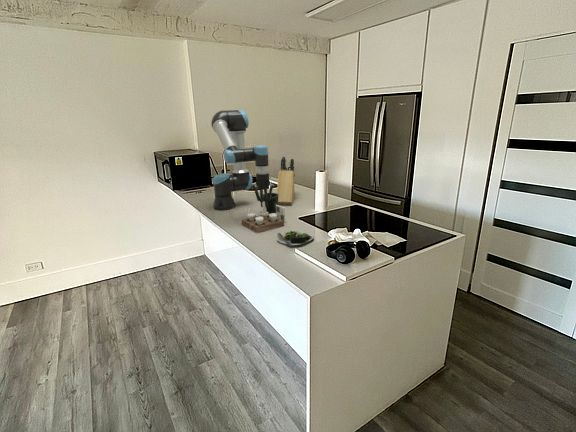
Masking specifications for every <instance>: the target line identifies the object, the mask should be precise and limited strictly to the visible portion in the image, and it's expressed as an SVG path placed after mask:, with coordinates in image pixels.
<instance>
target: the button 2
mask: <svg viewBox="0 0 576 432" xmlns="http://www.w3.org/2000/svg"><path fill="white" fill-rule="evenodd" d="M258 216H259V217H256V222H257V226H261V225H263V224H262V221H264V220H263V217H261V216H260V215H258Z"/></svg>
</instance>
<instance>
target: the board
mask: <svg viewBox="0 0 576 432" xmlns="http://www.w3.org/2000/svg"><path fill="white" fill-rule="evenodd" d="M259 216H261V214H260V215H257V216H256V215H255V217H254V221H253V222H249V218H248V217H247V218H243V219H241V225H242V226H243V227H245V228H247V229H249V230H251V231H252V232H254V233H256V234H259V233H263V232H266V231H270V230H275V229H277V228H280V227H281V228H282V227H284V226H285V222H284V221H283V220H281V219H278V218H276V222H271V219H270V218H269V214H268V216H267V218H265V219H263V220H264V221H262V224H263V225H261V226H257V222H256V217H259ZM261 217H262V216H261Z"/></svg>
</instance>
